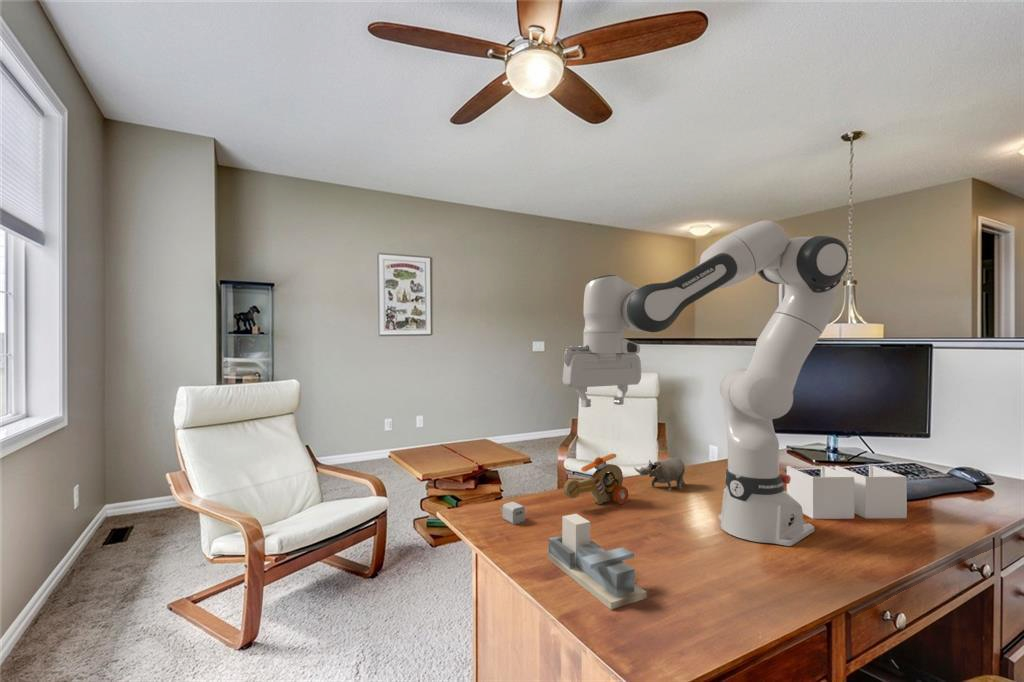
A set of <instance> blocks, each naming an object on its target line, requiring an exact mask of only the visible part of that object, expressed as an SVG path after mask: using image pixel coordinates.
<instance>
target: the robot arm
mask: <svg viewBox="0 0 1024 682" xmlns="http://www.w3.org/2000/svg"><path fill="white" fill-rule="evenodd" d="M699 259H700V260H699V263H698V264H697V265H696V266H695V267H693V268H690V269H689V270H688V271H686V272H684V273H682V274H680V275H679V276H677V277H675V278H674V279H672V280H669V281H667V282H658V283H657V282H656V283H655V282H654V283H649V284H645V285H643V286H642V287H637V286H635V285H633V284H631V283H628V282H627V281H625V280H623V279H622V278H621V277H620V276H619V275H618V274H617V275H616V274H607V275H601V276H598V277H594V278H592V279H591V280H590V281H588V282H587V284H586V285H585V288H584V295H583V317H584V329H583V338H582V339H583V344H582V345H577V346H576V345H571V346H570V347H568V348H566V350H565V351H564V355H563V356H564V363H563V364H564V365H563V369H562V384H563V385H564V386H565V387H566V388H573V389H576V393H577V395H578V397H579V398H580V406H581V407H582V408H591V406H592V404H591V403H592V399H591V398H588V396H587V392H588V388H593V387H595V388H597V387H613V386H616V387H617V390H618V392H617V395H616V396H613V400H614V401H613V403H614V405H617V406H620V405H624V404H625V403H624V397H625V396H626V394H627V392H628V389H629V387H628V386H633V385H634V386H635V385H639V384H640V382H641V381H642V363H641V357H640V356H639V354H640V351H641V346H640V344H639V343H637V342H635V341H631V340H629V339H627V338H624V337H623V329H625V330H629V331H631V332H643V333H644V332H649V333H659V332H662V331H664V330H666V329H668V328H670V326H671V325H673V324H674V322H675V321H676V320H677V319H678V317H679V316H680V314H681V313H682V312H683V311H684V309H685V308H687V307H688V306H689V305H691V304H693V303H695V302H696V301H697V300H700V299H701V298H703V297H705V296H706V295H708V294H710V293H711V292H713V291H715V290H718V289H725V288H727V287H731V286H735V285H737V284H738V283H741V282H743V281H746V280H747V279H749V278H751V277H753V276H754V275H758V276H759V277H760V278H762V279H763V280H764V281H766V282H768V283H771V284H775V285H785V292H784V297H783V299H782V301H781V302H780V303H779V305H778V307H776V309H775V311H774V313H773V314H772V316H770V318H769V320H768V322H767V323H766V325H765V326H764V328H763V330H762V331H761V333H760V335H759V336H758V338H757V339H756V340H755V341H756V342H755V349H754V352H753V355H752V357H751V359H750V362H749V365H748V366H747V368H740V369H736V370H733V371H731V372H729V373H727V374H726V375H725V376H724V377H723V378H722V380H721V382H720V385H719V391H720V395H721V400H722V407H723V408H722V409H723V417H724V422H725V428H726V435H727V469H725V476H724V477H725V484H726V487H725V488H724V489H723V497H722V506H721V513H719V514H718V520H719V521H720V528H721V529H722V531H724V532H725V533H727V534H729V535H731V536H733V537H737V538H739V539H743V540H746V541H749V542H755V543H764V544H776V545H782V546H787V547H790V546H793V545H795V544H796V543H799V542H800V541H802V539H804V538H806V537H807V536H809V535H811V534H813V533H814V532H815V526H814V525H813V524H811V523H809V522H807V521H806V520H804V514H803V511H802V507H801V505H800V504H799V503H798V502H797V501H796V500H795V499H794V498H792V497H791V496H790V495H789V494H788V493H787V490H785V485H784V483H785V484H786V485H787V484H789V483H790V481H791V479H790V478H791V477H790V476H789V475H787V474H784V473H780V443H779V438H778V437H777V434H776V432H775V431H776V430H775V427H774V423H773V420H774V419H775V420H776V419H779V418H781V417H783V416H785V415H786V414H787V413H788V412H789V411H790V410H791V408H792V406H793V403H794V393H793V392H794V390H795V386H796V384H797V380H798V377H799V374H800V372H801V370H802V367H803V365H804V364H805V361H806V360H807V358H808V356H809V355H810V353H811V351H812V350H813V348H814V347H815V345H816V343H817V342H818V340H819V339H820V337H821V335H822V334H823V333H824V331H825V329H826V327H827V326H828V323H829V322H830V320H831V318H832V315H833V312H834V311H835V308H836V305H837V302H838V296H837V292H836V291H835V289H834V288H835V287H837V286H838V285H839V284H840V282H841V280H842V277H843V276H844V274H845V272H846V270H847V267H848V263H849V251H848V247H847V246H846V244H845V243H844V241H842V240H841V239H839V238H836V237H832V236H828V235H816V236H797V237H794V238H788V236H787V233H786V231H785V230H784V228H783V227H782V226H781V225H780V224H779V223H777V222H775V221H773V220H769V219H767V220H765V219H764V220H761V221H757V222H754V223H751V224H748V225H746V226H743V227H742V228H741V227H740V228H738V229H737V230H735V231H731V232H730V233H728V234H727V235H725V236H723V237H721V238H719V239H718V240H717V241H715V242H714V243H713V244H711V245H710V246H709V247H707V248H706V249H705V250H704V251H703V252H702V253H701V255H700V257H699Z"/></svg>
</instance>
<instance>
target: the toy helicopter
mask: <svg viewBox="0 0 1024 682" xmlns="http://www.w3.org/2000/svg"><path fill="white" fill-rule="evenodd" d="M616 458H617V454H616V453H610V454H606V455H605V456H603V457H599V456H598V457H596V458H595V459H594V461H592V462H590V463H588V464H586V465H585V466H582V467H581V468H580V471H581V472H584V473H585V472H588V471H590V470H592V469H595V471H594V473H593V474H592V476H591V477H589V478H584V479H581V480H577V479H572V478H571V479H568V480H566V482H565V483H564V485H563V493H564V495H565V496H566V497H568V498H571V499H575V498H577V497H579V495H580V494H583V493H590V492H591V494H592V495H593V502H594V503H595V504H597V505H599V504H601V505H602V504H603V503H604V502H606V501H612V500H613V501H614V503H616V504H618V505H623V504H625V503H626V502H627V501H628V499H629V490H628V489H627V488H626V487H625V486H623V482H624V481H623V480H624V476H623V471H622V469H621V468H620V467H619V465H617V464H611V463H607V462H608V461H610V460H614V459H616Z"/></svg>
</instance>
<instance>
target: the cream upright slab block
mask: <svg viewBox="0 0 1024 682" xmlns="http://www.w3.org/2000/svg"><path fill="white" fill-rule="evenodd" d="M561 518H562V520H561V521H562V522H561V523H562V524H561V528H562V529H561V531H562V533H561V536H562V544H564V545H565V546H566V547H568V548H569V549H571V550H572V551H574V552H575V564H576V565H577V547H579V546H583V545H587V544H590V540H591V521H589V520H588V519H586V518H585V517H583V516H581V515H579V514H578V513H573V514H567V515H562V517H561Z"/></svg>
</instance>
